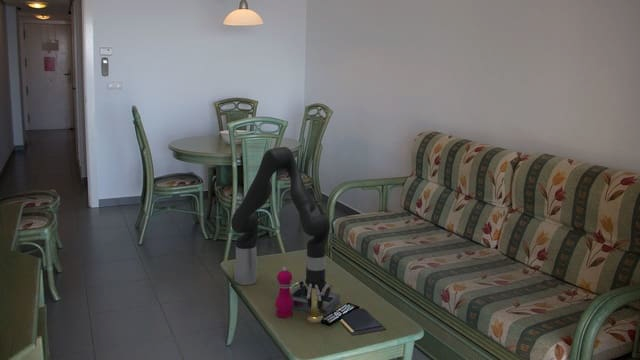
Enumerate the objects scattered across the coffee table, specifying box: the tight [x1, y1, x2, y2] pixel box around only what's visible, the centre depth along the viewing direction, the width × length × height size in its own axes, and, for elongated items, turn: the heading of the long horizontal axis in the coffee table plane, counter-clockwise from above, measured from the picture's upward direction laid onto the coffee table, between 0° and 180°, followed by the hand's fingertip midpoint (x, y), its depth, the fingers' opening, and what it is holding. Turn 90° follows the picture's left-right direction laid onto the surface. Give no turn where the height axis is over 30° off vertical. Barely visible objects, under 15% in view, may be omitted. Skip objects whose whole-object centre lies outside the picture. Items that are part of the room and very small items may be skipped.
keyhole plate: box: [290, 285, 341, 317], centre depth 234 cm, size 19×14×4 cm
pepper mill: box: [274, 266, 293, 319], centre depth 223 cm, size 7×7×20 cm
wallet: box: [340, 307, 387, 337], centre depth 220 cm, size 20×2×15 cm
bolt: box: [306, 288, 324, 324], centre depth 220 cm, size 6×6×14 cm
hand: (315, 307), depth 220 cm, fingers closed on bolt, 3 cm apart
